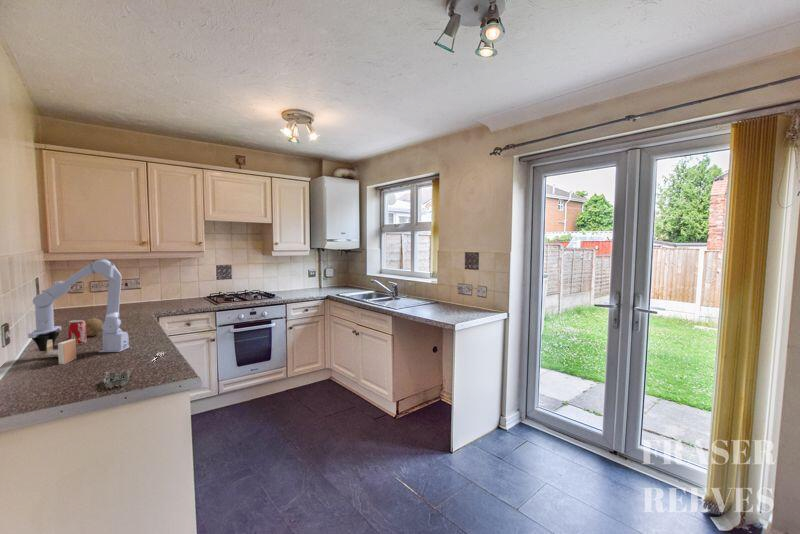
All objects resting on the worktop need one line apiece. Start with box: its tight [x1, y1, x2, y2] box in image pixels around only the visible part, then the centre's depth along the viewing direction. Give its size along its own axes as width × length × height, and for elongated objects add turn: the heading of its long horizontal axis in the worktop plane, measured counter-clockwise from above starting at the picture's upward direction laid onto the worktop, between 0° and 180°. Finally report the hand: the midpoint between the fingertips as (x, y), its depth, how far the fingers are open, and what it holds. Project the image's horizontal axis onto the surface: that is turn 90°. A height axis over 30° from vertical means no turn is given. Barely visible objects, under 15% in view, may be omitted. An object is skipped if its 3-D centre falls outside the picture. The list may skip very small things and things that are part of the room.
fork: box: [151, 351, 165, 361], centre depth 155 cm, size 3×20×2 cm, turn 15°
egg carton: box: [103, 370, 131, 388], centre depth 132 cm, size 11×8×4 cm
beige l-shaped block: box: [39, 339, 58, 356], centre depth 159 cm, size 10×5×6 cm, turn 97°
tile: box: [57, 339, 77, 365], centre depth 154 cm, size 2×7×9 cm, turn 7°
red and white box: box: [67, 319, 88, 346], centre depth 180 cm, size 7×7×12 cm
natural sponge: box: [84, 317, 104, 337], centre depth 195 cm, size 9×9×10 cm
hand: (46, 349), depth 158 cm, fingers closed on beige l-shaped block, 3 cm apart
